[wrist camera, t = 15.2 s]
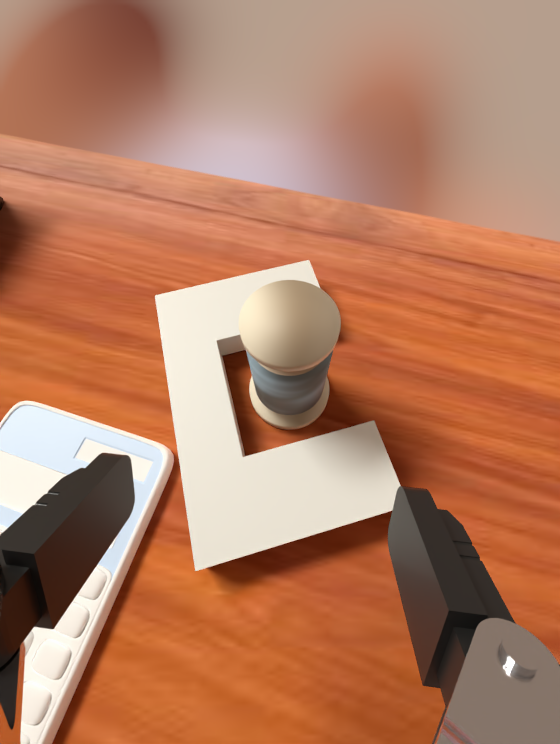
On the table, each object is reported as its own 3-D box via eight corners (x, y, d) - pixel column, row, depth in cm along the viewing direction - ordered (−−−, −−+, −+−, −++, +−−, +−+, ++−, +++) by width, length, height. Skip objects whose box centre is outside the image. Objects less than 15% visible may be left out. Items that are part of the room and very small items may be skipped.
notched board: (205, 566, 22) (195, 571, 19) (165, 313, 30) (154, 295, 27) (396, 507, 23) (408, 505, 20) (307, 279, 31) (308, 259, 29)
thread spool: (262, 439, 25) (247, 388, 16) (242, 369, 27) (219, 289, 18) (339, 416, 25) (367, 354, 16) (313, 349, 28) (324, 263, 19)
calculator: (-178, 719, 19) (-224, 737, 18) (31, 401, 27) (13, 393, 25) (18, 828, 17) (-11, 862, 16) (182, 452, 25) (175, 446, 23)
